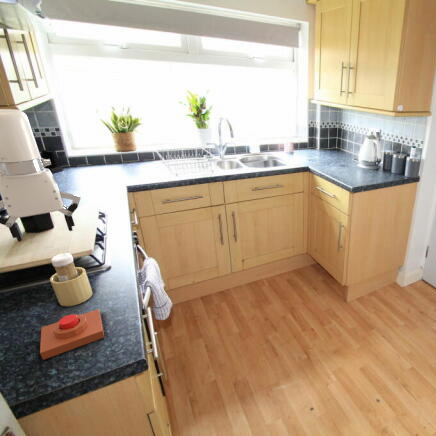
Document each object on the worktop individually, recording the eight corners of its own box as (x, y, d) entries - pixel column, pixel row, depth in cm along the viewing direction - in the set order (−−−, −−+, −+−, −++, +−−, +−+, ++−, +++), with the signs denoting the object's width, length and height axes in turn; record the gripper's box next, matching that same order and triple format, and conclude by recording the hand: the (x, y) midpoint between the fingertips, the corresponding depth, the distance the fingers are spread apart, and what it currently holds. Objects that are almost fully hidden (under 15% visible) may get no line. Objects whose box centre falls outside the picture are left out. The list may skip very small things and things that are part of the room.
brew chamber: (59, 310, 89) (49, 286, 86) (59, 295, 95) (50, 272, 91) (93, 299, 94) (86, 276, 90) (91, 285, 99) (84, 264, 96)
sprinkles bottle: (87, 294, 94) (74, 255, 89) (70, 302, 91) (54, 262, 85) (80, 289, 97) (67, 250, 91) (63, 297, 93) (47, 257, 88)
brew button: (60, 332, 77) (58, 326, 76) (60, 323, 79) (58, 318, 79) (79, 325, 79) (77, 320, 78) (78, 317, 82) (76, 312, 81)
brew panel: (43, 360, 74) (37, 347, 72) (44, 334, 81) (39, 321, 79) (104, 337, 81) (100, 325, 79) (100, 315, 88) (96, 303, 86)
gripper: (68, 158, 80) (87, 220, 87) (-31, 168, 70) (-1, 237, 77) (70, 165, 75) (90, 230, 82) (-36, 176, 64) (-4, 250, 71)
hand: (46, 234), depth 79 cm, fingers open, 9 cm apart
